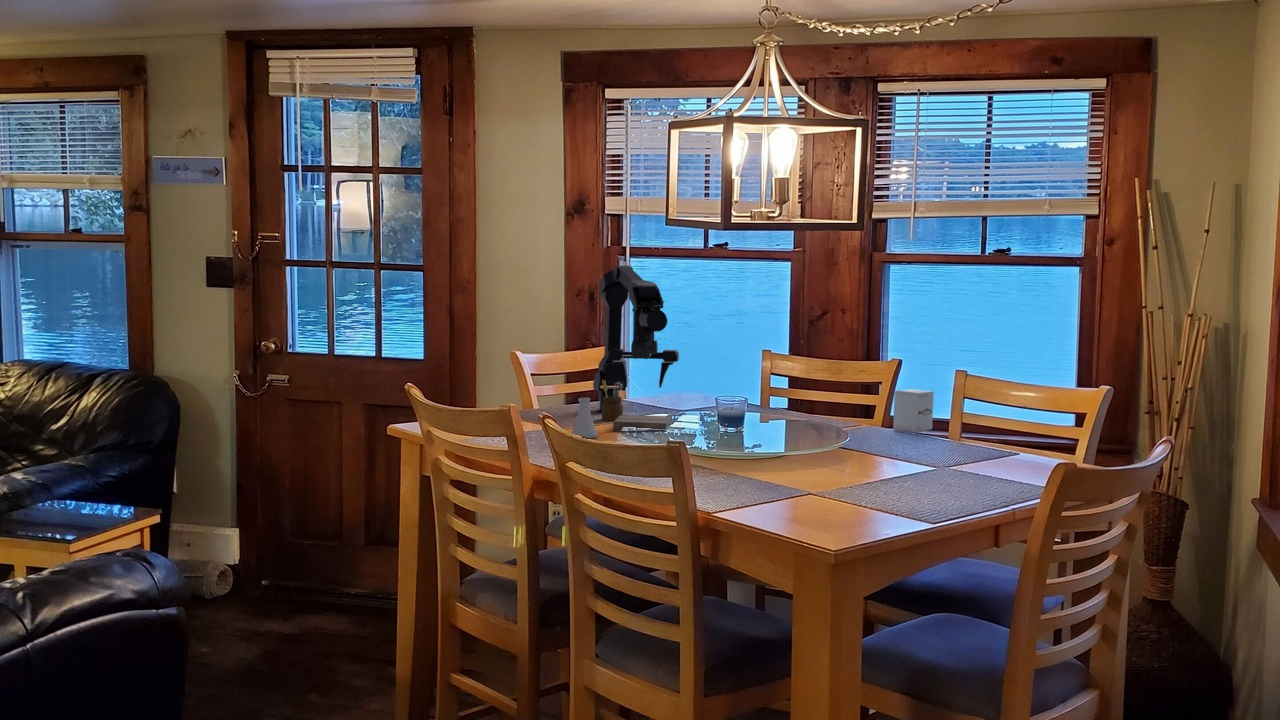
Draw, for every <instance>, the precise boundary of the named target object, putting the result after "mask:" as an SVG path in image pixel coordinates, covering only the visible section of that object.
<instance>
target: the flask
mask: <svg viewBox="0 0 1280 720" xmlns="http://www.w3.org/2000/svg"><path fill="white" fill-rule="evenodd" d="M577 400H578V402H579V405H578V412H577V416H576V420H575V421H574V424H573V428H572V431H571V433H572V434H575V435H579V436H582V437H586V438H587V439H594V438H598V432H597V429H596V426H595V424H594V420H593V417H592V414H591V409H590V401H591V398H590V397H579V398H578V399H577ZM586 438H585V439H586Z"/></svg>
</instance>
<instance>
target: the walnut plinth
mask: <svg viewBox="0 0 1280 720" xmlns="http://www.w3.org/2000/svg"><path fill="white" fill-rule="evenodd" d="M612 422H613V423H612V424H613V425H612V427H613V430H612V431H613V432H621V430H622V428H623V427H636V428H652V429H666V428H667V427H668V425H669V423H670V422H671V423H672V416H669V415H667V416H666V415H665V416H664V415H638V414H637V415H635V414H633V415H632V414H623V415H620V416H619V417H618V418H617V419H616V420H615V421H612ZM671 423H670V424H671ZM669 426H670V425H669ZM668 428H669V427H668ZM668 428H667V429H668Z"/></svg>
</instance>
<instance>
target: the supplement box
mask: <svg viewBox="0 0 1280 720" xmlns="http://www.w3.org/2000/svg"><path fill="white" fill-rule="evenodd" d="M933 412H934V390H925V389H916V388H915V389H913V388H909V389H899V390H898V389H897V390H894V400H893V422H892V423H893V427H892V429H893V430H894V431H900V432H907V433H915V434H918V433H921V432H926V431H930V430H933V418H934V417H933V416H934V415H933Z"/></svg>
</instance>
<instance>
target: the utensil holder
mask: <svg viewBox="0 0 1280 720" xmlns="http://www.w3.org/2000/svg"><path fill="white" fill-rule="evenodd" d="M603 382H604V380H602V384H603V386H602V387H603V389H604V391H605V393H606V396H605V397H604V399H603V401H604V403H603V405H602V412H601V421H604V422H614V421H615V420H616V419H617V418H618V417H619V416H620V415H624V406H623V403H622V402H623V399H622V396H621V395H619V396H607V391H608V390H607V387H608V386H607V385H606V381H605V382H604V383H603ZM618 384H619V383H618ZM620 384H621V383H620ZM616 385H617V383H616ZM621 387H622V386H621ZM615 389H616V388H615ZM617 389H619V388H617ZM621 393H622V390H621V389H620V391H619V394H621ZM614 395H615V390H614ZM617 395H618V394H617Z"/></svg>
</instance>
